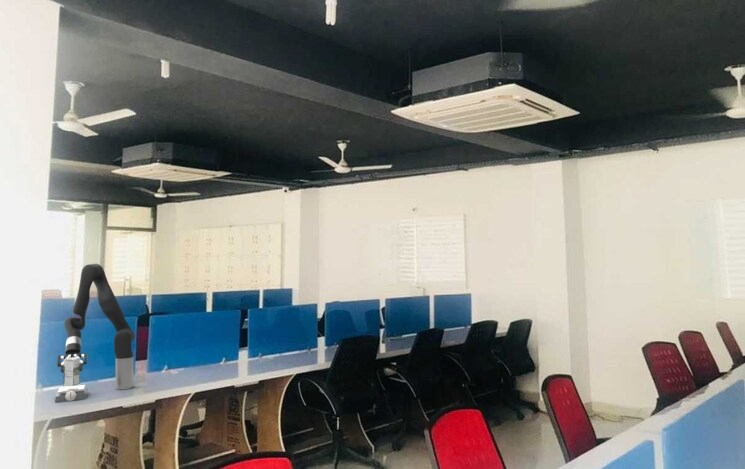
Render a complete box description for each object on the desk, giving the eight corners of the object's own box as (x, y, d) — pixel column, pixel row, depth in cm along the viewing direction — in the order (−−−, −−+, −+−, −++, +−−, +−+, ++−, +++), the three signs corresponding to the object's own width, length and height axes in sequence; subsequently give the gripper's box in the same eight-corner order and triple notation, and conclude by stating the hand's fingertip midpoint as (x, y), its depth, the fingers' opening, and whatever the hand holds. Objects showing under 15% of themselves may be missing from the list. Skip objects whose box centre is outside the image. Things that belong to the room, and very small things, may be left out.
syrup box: (70, 383, 291) (70, 356, 291) (80, 383, 290) (80, 356, 291) (63, 386, 285) (63, 358, 286) (73, 386, 284) (73, 358, 285)
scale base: (58, 396, 290) (58, 387, 291) (87, 393, 296) (87, 384, 297) (55, 402, 277) (55, 393, 277) (85, 399, 283) (85, 389, 283)
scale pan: (60, 388, 290) (60, 387, 290) (85, 386, 295) (85, 384, 295) (57, 393, 279) (57, 391, 279) (83, 390, 285) (83, 388, 285)
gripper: (58, 343, 292) (55, 368, 281) (87, 341, 299) (86, 365, 288) (59, 352, 297) (56, 376, 286) (88, 349, 303) (87, 373, 292)
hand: (71, 371), depth 287 cm, fingers closed on syrup box, 8 cm apart
